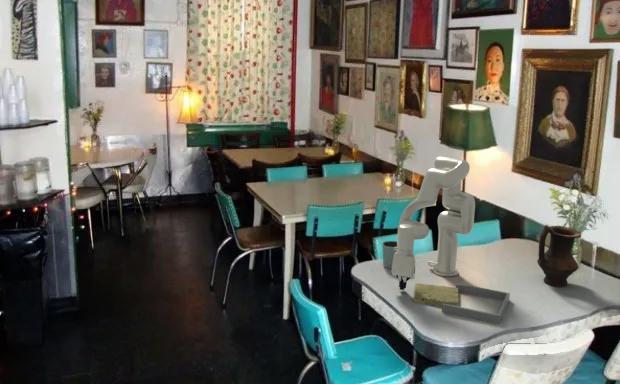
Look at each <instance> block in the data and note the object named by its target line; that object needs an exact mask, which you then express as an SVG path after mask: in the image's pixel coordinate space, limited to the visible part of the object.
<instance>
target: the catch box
mask: <svg viewBox="0 0 620 384" xmlns="http://www.w3.org/2000/svg"><path fill="white" fill-rule="evenodd" d="M455 288H458V293H464V294H470V295H473V296H474V295H475V296H479V297H485V298H490V299H493V300H494V299H495V300H500V301H503V302H502V304H501V305H500V308H499V311H498V313H492V312H488V311H483V310H477V309H472V308H467V307H462V306H454V305H449V304H444V303H443V304H442V307H441V313H445V314H448V315H449V314H451V315H456V316H460V317H465V318H468V319H469V318H470V319H472V320H473V319H475V320H478V321H483V322H489V323H493V324H498V325H499V324H500V323H501V321H502V318H503V316H504V314H505V312H506V309H507V307H508V304H509V303H510V297H511V293H510V292H505V291H500V290H494V289H489V288H484V287H481V286H480V287H479V286H473V285H469V284H464V283H463V284H462V283H458V282H456V284H455Z"/></svg>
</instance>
